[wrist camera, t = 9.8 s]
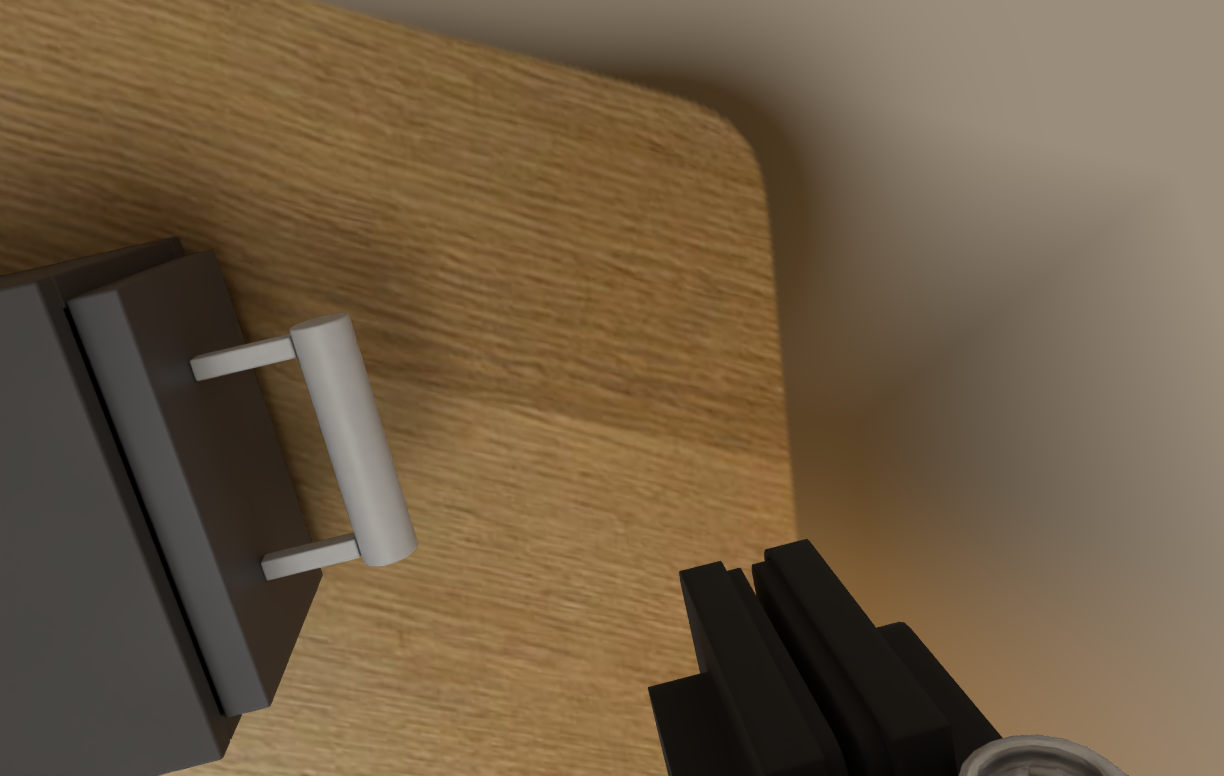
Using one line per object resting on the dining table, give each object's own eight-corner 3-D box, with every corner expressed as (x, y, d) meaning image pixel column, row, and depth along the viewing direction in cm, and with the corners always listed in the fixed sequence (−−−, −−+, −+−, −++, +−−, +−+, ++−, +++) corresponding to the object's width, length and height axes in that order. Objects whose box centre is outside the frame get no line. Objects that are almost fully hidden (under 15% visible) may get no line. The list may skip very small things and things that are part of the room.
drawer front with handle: (351, 217, 29) (301, 245, 22) (447, 544, 33) (431, 666, 25) (-232, 350, 28) (-493, 427, 21) (-76, 674, 32) (-254, 841, 24)
